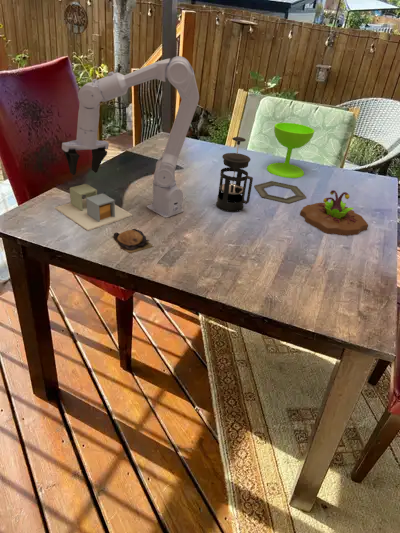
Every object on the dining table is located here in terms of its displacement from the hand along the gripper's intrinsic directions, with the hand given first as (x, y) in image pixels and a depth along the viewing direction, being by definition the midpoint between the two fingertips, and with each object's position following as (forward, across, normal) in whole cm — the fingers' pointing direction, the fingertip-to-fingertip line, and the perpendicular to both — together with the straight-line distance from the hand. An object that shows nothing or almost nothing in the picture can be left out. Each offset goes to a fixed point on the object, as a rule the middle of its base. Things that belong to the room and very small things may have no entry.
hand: (83, 172), depth 122 cm
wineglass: (-1, -85, +20) cm, 88 cm away
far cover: (+10, 0, +2) cm, 10 cm away
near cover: (+9, 0, +12) cm, 15 cm away
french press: (+3, -38, +30) cm, 49 cm away
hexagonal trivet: (0, -63, +33) cm, 71 cm away
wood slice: (+8, +2, +29) cm, 30 cm away
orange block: (+9, 0, +12) cm, 15 cm away
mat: (+10, 0, +8) cm, 12 cm away
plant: (-2, -58, +58) cm, 82 cm away
